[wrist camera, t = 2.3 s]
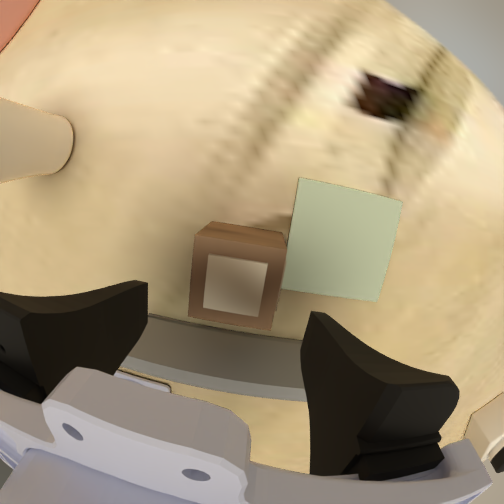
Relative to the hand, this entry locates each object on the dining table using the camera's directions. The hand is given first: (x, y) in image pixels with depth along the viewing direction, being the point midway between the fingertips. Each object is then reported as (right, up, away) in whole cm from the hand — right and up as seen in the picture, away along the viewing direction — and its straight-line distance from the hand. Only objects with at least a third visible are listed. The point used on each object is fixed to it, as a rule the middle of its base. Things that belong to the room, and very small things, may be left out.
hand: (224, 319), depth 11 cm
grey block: (-1, -5, +11) cm, 12 cm away
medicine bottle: (+38, -23, +14) cm, 46 cm away
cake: (-34, +37, +1) cm, 50 cm away
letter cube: (0, +2, +9) cm, 9 cm away
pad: (+8, +3, +8) cm, 12 cm away
